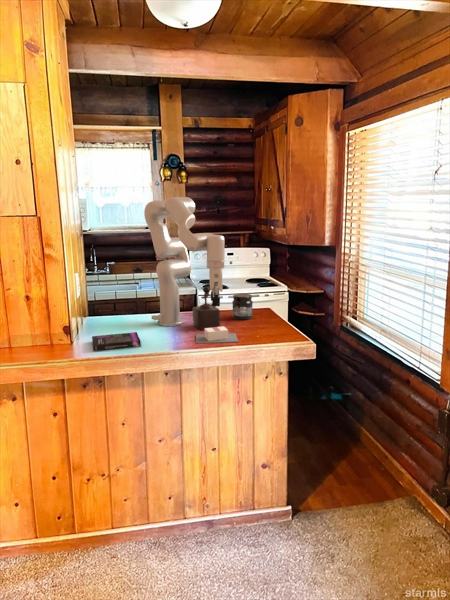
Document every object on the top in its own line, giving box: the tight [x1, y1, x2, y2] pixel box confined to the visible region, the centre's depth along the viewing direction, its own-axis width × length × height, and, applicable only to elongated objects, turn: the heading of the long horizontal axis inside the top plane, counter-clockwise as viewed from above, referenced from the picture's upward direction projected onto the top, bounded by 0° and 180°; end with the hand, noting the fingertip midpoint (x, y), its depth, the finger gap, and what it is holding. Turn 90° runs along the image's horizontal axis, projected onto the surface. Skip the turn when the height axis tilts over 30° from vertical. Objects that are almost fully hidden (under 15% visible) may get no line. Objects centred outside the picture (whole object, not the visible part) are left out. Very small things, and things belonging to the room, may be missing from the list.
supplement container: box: [231, 293, 254, 321], centre depth 229 cm, size 10×10×12 cm
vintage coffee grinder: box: [192, 286, 221, 331], centre depth 215 cm, size 16×11×18 cm
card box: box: [203, 325, 229, 341], centre depth 195 cm, size 6×9×4 cm, turn 109°
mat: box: [195, 332, 239, 345], centre depth 196 cm, size 18×12×1 cm, turn 95°
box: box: [91, 331, 142, 353], centre depth 189 cm, size 14×4×20 cm
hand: (215, 303), depth 193 cm, fingers open, 9 cm apart
